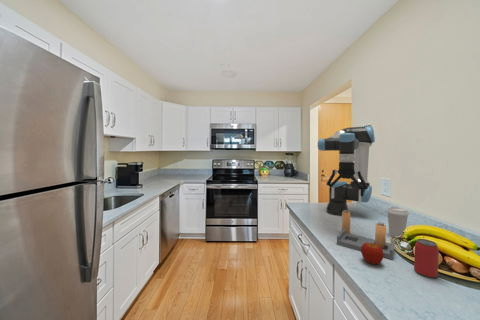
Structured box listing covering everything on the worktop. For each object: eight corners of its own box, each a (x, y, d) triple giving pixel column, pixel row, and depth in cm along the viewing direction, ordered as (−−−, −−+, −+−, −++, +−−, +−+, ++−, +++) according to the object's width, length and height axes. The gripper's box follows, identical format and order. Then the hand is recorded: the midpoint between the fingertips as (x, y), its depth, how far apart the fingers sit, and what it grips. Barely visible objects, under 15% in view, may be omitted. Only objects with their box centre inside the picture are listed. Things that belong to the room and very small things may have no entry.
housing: (343, 235, 109) (344, 212, 109) (394, 248, 95) (395, 221, 94) (336, 244, 99) (337, 218, 99) (392, 259, 85) (393, 230, 84)
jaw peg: (342, 231, 116) (343, 209, 115) (350, 232, 113) (351, 210, 113) (341, 233, 113) (341, 210, 112) (348, 235, 110) (349, 212, 110)
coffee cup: (402, 233, 112) (403, 206, 111) (412, 241, 103) (413, 212, 102) (382, 231, 115) (383, 205, 114) (390, 238, 105) (391, 210, 105)
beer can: (413, 273, 76) (414, 241, 75) (414, 266, 81) (416, 236, 80) (437, 281, 71) (438, 247, 71) (437, 273, 76) (439, 242, 75)
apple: (372, 269, 79) (373, 249, 78) (356, 258, 86) (356, 240, 86) (387, 265, 81) (388, 246, 80) (370, 256, 88) (370, 238, 88)
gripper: (320, 161, 115) (320, 197, 117) (372, 162, 99) (371, 205, 100) (325, 160, 121) (324, 195, 122) (374, 162, 105) (373, 202, 106)
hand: (345, 200), depth 111 cm, fingers open, 13 cm apart
